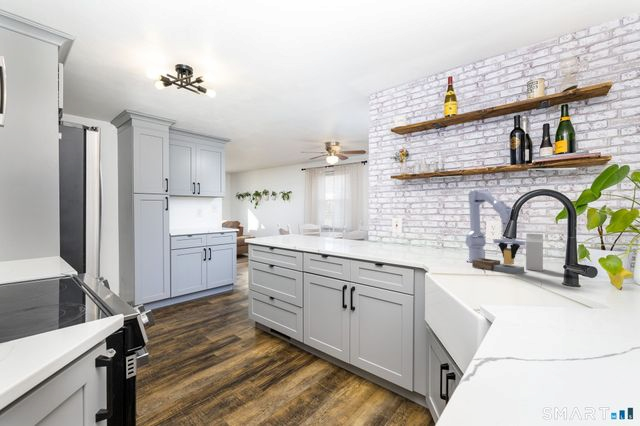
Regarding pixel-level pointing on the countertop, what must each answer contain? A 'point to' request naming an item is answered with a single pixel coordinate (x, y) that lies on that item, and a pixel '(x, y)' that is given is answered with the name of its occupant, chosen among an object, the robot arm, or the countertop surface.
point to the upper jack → (485, 263)
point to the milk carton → (534, 252)
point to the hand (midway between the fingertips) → (508, 258)
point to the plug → (508, 256)
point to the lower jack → (509, 268)
